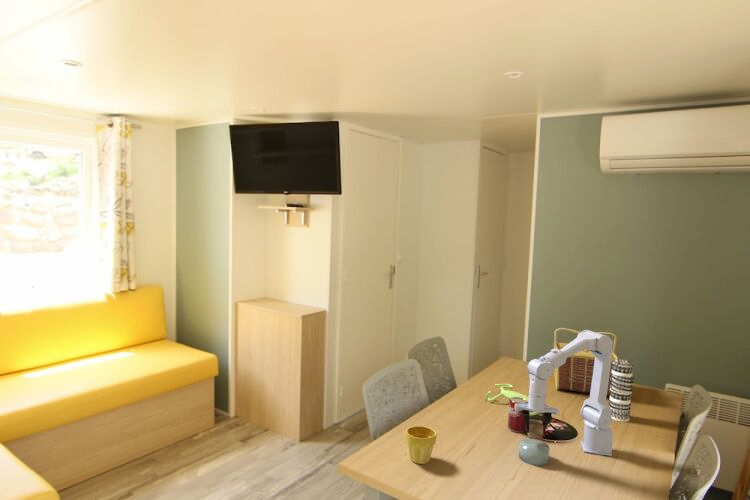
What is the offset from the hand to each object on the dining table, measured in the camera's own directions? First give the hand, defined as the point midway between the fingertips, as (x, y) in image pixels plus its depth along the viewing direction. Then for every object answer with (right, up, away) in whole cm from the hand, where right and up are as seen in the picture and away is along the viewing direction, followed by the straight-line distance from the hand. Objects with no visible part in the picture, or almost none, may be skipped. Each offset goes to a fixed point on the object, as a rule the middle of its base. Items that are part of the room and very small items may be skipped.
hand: (535, 432), depth 167 cm
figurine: (+8, -7, +53) cm, 54 cm away
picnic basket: (+49, -7, +75) cm, 90 cm away
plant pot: (-41, -8, -3) cm, 42 cm away
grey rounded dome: (0, -10, +1) cm, 10 cm away
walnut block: (0, -2, 0) cm, 2 cm away
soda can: (+1, -8, +24) cm, 25 cm away
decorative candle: (+50, -9, +40) cm, 64 cm away
